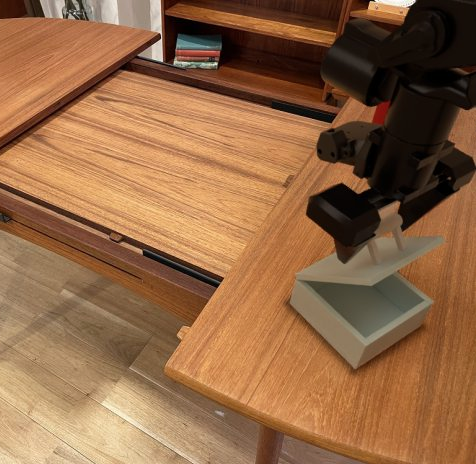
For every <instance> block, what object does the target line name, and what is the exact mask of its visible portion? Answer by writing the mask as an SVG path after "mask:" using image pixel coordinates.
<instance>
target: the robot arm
mask: <svg viewBox="0 0 476 464" xmlns="http://www.w3.org/2000/svg"><path fill="white" fill-rule="evenodd" d="M474 67H476V0H415V1H414V2H413V3H412V5H411V6H410V7H408V10H407V12H406V14H405V16H404V18H403V23H402V24H400V25H399V26H398V27H397V28H396V29H394V30H393V31H392V32H390V31H389V30H386V29H384V28H381V27H379V26H377V25H376V24H374V23H373V22H372V21H370V20H369V19H366V18H364V17H357V18H355V19H352V20H348V21H346V22H345V23H344V26H343V32H342V33H341V34H340V35H339V36H338V37H337V38H336V39H335V40H334V42H333V43H332V44H331V45H330V47H329V48H328V50H327V52H326V54H325V55H324V57H323V58H322V60H321V63H320V72H319V73H320V76H321V79H322V81H323V82H324V83H326V84H327V85H328V86H331V87H332V88H335V89H336V90H337V91H339V92H341V93H343V94H345V95H346V96H348V97H350V98H352V99H354V100H355V101H357V102H359V103H360V104H362V105H364V106H366V107H368V108H374V107H375V108H376V107H377V105H379V104H381V103H383V102H389V101H390V104H389V107H388V110H387V113H386V116H385V119H384V122H383V125H381V124H375V123H372V122H368V121H362V120H352V121H351V120H350V121H348V122H345V123H343V124H341V125H339V126H336V127H330V128H328V129H326V130H323V131H321V132H320V133H319V136H318V138H317V142H316V146H315V147H316V156H317V158H318V160H320V161H322V162H325V163H330V164H333V165H336V164H337V163H340V164H343V165H346V166H347V165H348V166H351V167H353V169H352V174H353V175H354V176H355V177H357V178H358V179H360V180H363V179H365V180H367V181H366V184H367V185H368V187H369V188H368V189H365V190H363V191H361V192H359V193H357V192H356V191H355V190H353V189H352V188H351V187H349V186H348V185H347V184H345V183H344V182H339V183H335V184H333V185H330V186H328V187H326V188H324V189H322V190H319V191H318V192H315V193H314V194H311V195H309V196H308V199H307V204H306V208H305V217H307V218H308V219H309V220H311V221H312V222H313V223H314V224H316V225H317V226H318V227H319V228H320V229H322V230H323V231H324V232H325V233H327V234H328V235H329V236H330V237H331V238H333V242H334V243H333V244H334V248H335V252H336V253H337V258H338V260H340V261H341V262H342V263H343V264H346V263H348V262H349V261H350V260H351V259H352V258H353V257H354V256H355V255H356V254H357V253H358V252H359V251H361V250H362V249H363V248H364V247H365V246H366V245H367V244H368V243H369V242H370V241H371V240H372V239H373V238H374V237H375V236H376V234H375V233H374V232H375V231H376V230H377V229H378V227H379V225H380V222H381V218H380V215H379V211H381V210H383V209H385V208H387V207H389V206H390V205H392V204H394V203H396V202H398V201H399V205H398V208H397V213H398V214H399V215H400V216H401V217H402V220H403V223H402V225H401V226H400V227H401V230H402V233H403V232H405V231H407V230H408V229H409V228H411V227H412V226H413V225H414V224H416V223H417V222H418V221H420V220H421V219H423V218H424V217H425V216H427V215H428V214H429V213H431V212H432V211H433V210H435V209H436V208H437V207H438V206H440V205H441V204H443V203H444V202H446V201H447V200H448V199H449V198H451V197H452V196H453V195H455V194H457V193H458V192H459V191H460V190H461V188H463V187H465V186H466V185H469V184H470V183H471V182H472V180H473V178H474V176H475V173H476V161H475V160H474V157H473V156H471V155H469V154H467V153H465V152H464V151H462V150H461V149H458V148H457V147H455V145H456V143H455V142H452V141H451V140H449V137H450V134H451V132H452V130H453V128H454V125H455V123H456V121H457V119H458V116H459V114H460V112H461V109H462V110H464V111H470V110H472V109H475V108H476V70H473V71H471V72H467V71H466V70H463V68H474Z"/></svg>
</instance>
